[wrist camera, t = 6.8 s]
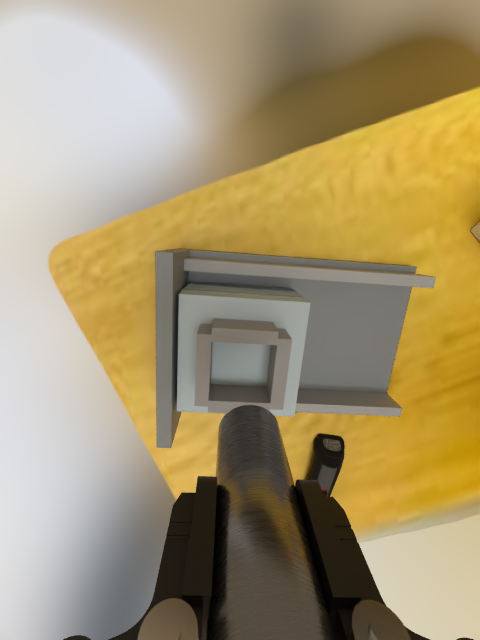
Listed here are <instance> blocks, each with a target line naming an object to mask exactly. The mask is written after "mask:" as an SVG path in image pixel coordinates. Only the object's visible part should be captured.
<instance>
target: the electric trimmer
mask: <svg viewBox="0 0 480 640" xmlns="http://www.w3.org/2000/svg"><path fill="white" fill-rule="evenodd" d="M344 448H345V446H344V440H343V439H342V438H341V437H340V436H334V435H327V434H319V435H318V437H317V438H315V442H314V449H315V455H316V457H315V460H314V464H313V467H312V471H311V474H310V478H309V480H317V481H318V482H319V484H320V487H321V490H322V492H323V495H324V497H330V495H331V492H332V490H333V487H334V485H335V482H336V480H337V477H338V475H339V472H340V469H341V466H342V463H343V459H344Z"/></svg>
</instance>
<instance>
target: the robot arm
mask: <svg viewBox="0 0 480 640" xmlns="http://www.w3.org/2000/svg"><path fill="white" fill-rule="evenodd" d="M217 478H218V477H206V476H198V480H197V487H196V493H181V495H180V496H179V498H178V499H177V501H176V502H175V504H174V505H173V508H172V513H171V518H170V523H169V527H168V531H167V537H166V541H165V545H164V551H163V555H162V559H161V564H160V569H159V573H158V578H157V583H156V587H155V593H154V596H153V600H152V602H151V604H150V606H149V608H148V610H147V611H146V613H145V614H144V616H143V617H142V618H141V619H140V621H139V622H138V623H137V624H136V625H134V626H133V627H132V628H131V629H129V630H128V631H126V632H125V633H123V634H121V635H118V636H116V637H114V638H111V639H109V640H206V634H207V623H208V619H209V616H210V610H211V595H212V576H213V556H214V537H215V517H216V498H217ZM295 489H296V493H297V497H298V501H299V505H300V508H301V512H302V516H303V520H304V523H305V527H306V531H307V535H308V538H309V542H310V546H311V550H312V553H313V557H314V561H315V565H316V568H317V572H318V576H319V580H320V584H321V587H322V591H323V595H324V599H325V602H326V606H327V610H328V614H329V617H330V621H331V625H332V629H333V632H334V636H335V640H430V639H427V638H425V637H422V636H420V635H418V634H415V633H414V632H412V631H411V630H409V629H408V628H406V627H405V626H404V625H403V623H402V622H401V620H400V619H399V618H398V617H397V616H396V614H395V613H393V612H392V611H391V610H390V609H389V608H388V607H387V606H386V605H385V603H384V601H383V599H382V597H381V595H380V593H379V591H378V589H377V586H376V584H375V581H374V579H373V577H372V574H371V572H370V570H369V567H368V565H367V563H366V560H365V558H364V555H363V553H362V551H361V548H360V546H359V544H358V543H357V539H356V537H355V534H354V532H353V530H352V529H351V525H350V523H349V520H348V518H347V516H346V513H345V511H344V509H343V508H342V507H341V506H340V505H339V504H338V502H337V501H336V500H335V499H334V498H333V497H324V495H323V492H322V490H321V487H320V484H319V482H318V481H317V480H297V481H296V484H295ZM63 640H91V639H89V638H87V637H86V636H81V635H78V636H71V637H68V638H66V639H63ZM457 640H473V639H469V638H459V639H457Z"/></svg>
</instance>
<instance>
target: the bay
mask: <svg viewBox="0 0 480 640" xmlns="http://www.w3.org/2000/svg"><path fill="white" fill-rule="evenodd" d="M416 268H417V267H415V266H405V265H392V264H378V263H365V262H351V261H338V260H324V259H311V258H297V257H284V256H270V255H257V254H243V253H230V252H216V251H203V250H189V249H172V250H164V251H156V252H155V272H156V422H157V447H158V448H171V447H172V443H173V440H174V436H175V433H176V429H177V426H178V422H179V419H180V415H181V412H180V411H177V375H178V311H179V293H180V292H181V291H182V289H183V288H185V287H186V286H187V284H188V283H190V282H191V281H193V282H208V283H222V284H237V285H252V286H266V287H281V288H292V289H293V290H296V291H297V293H298V294H300V295H301V296H304V297H305V298H306V300H308V301H309V302H310V310H309V317H308V324H307V331H306V338H305V345H304V352H303V359H302V366H301V373H300V380H299V387H298V394H297V401H296V408H295V412H307V413H330V414H353V415H375V416H398V417H400V415H401V411H402V407H400V406H399V405H398V404H397V403H396V402H395V401H394V400H393V399H392V398H391V397H390V396H389V395H388V394H387V390H388V386H389V381H390V377H391V373H392V369H393V365H394V360H395V356H396V352H397V348H398V343H399V339H400V335H401V331H402V327H403V322H404V318H405V314H406V310H407V306H408V301H409V297H410V293H411V289H412V287H424V288H433V287H434V283H435V280H436V277H432V276H426V275H420V274H415V272H416Z"/></svg>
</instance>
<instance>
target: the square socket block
mask: <svg viewBox="0 0 480 640" xmlns="http://www.w3.org/2000/svg"><path fill="white" fill-rule="evenodd" d="M309 310H310V302H309V301H308V300H306V298H305V297H304V296H301V295H300V294H298V293H297V291H296V290H293V289H292V288H281V287H266V286H252V285H237V284H222V283H208V282H193V281H191V282H190V283H188V284H187V286H186V287H185V288H183V289H182V291H181V292H180V293H179V311H178V375H177V411H180V412H203V413H226V414H227V413H228V412H229V411H231V410H232V409H234V408H236V407H239V406H243V405H257V406H260V407H263V408H265V409H267V410H268V411H270V412H271V413H272V414H273V415H274V416H294V415H295V408H296V401H297V394H298V387H299V380H300V373H301V366H302V359H303V352H304V345H305V338H306V331H307V324H308V317H309Z"/></svg>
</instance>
